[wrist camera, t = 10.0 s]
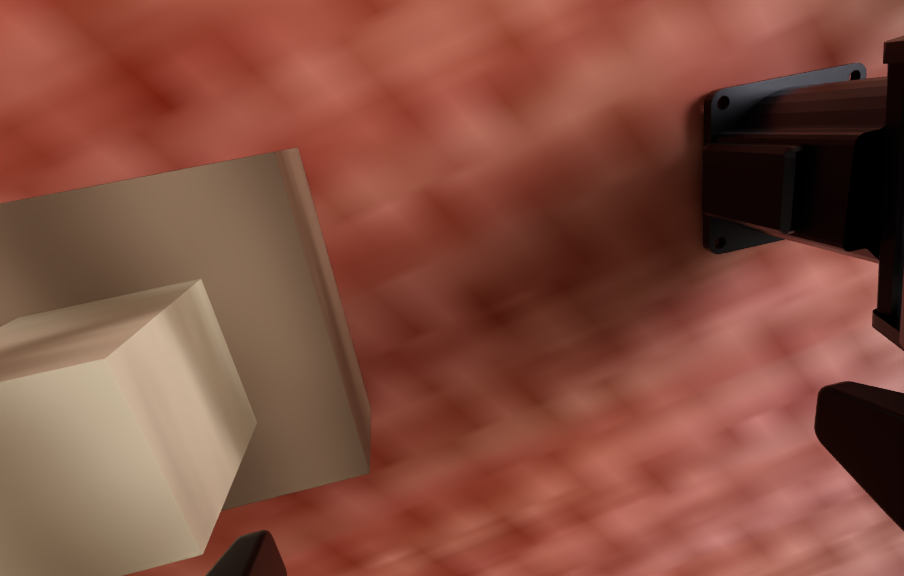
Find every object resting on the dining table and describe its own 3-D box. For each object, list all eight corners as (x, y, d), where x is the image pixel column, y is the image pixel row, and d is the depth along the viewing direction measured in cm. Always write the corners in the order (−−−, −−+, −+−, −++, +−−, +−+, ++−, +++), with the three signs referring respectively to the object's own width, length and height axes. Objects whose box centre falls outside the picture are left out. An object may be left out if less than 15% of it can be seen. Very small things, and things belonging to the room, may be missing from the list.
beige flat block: (297, 147, 16) (274, 152, 13) (371, 409, 20) (369, 473, 16) (-36, 210, 15) (-169, 236, 12) (106, 472, 19) (41, 556, 15)
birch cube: (201, 278, 13) (105, 358, 9) (256, 422, 15) (202, 554, 10) (17, 317, 13) (-187, 423, 8) (97, 461, 15) (-36, 617, 10)
